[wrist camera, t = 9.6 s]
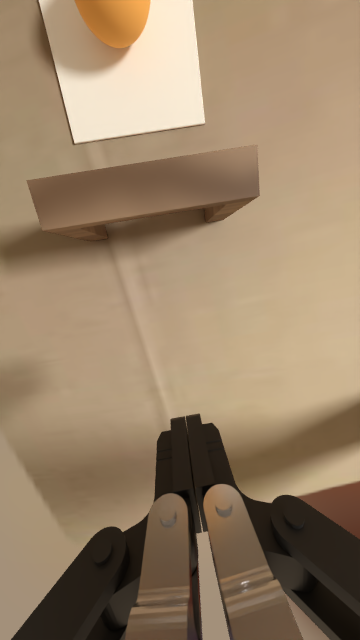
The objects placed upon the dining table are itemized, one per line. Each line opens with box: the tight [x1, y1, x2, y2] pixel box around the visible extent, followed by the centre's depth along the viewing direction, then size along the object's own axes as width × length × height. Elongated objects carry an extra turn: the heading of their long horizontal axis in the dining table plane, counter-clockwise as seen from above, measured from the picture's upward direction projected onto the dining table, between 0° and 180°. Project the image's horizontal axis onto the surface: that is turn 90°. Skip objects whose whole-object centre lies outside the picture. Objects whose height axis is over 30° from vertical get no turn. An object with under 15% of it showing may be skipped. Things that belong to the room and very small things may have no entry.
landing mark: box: [39, 0, 205, 144], centre depth 20 cm, size 13×13×1 cm
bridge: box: [27, 145, 260, 241], centre depth 19 cm, size 3×15×10 cm, turn 99°
